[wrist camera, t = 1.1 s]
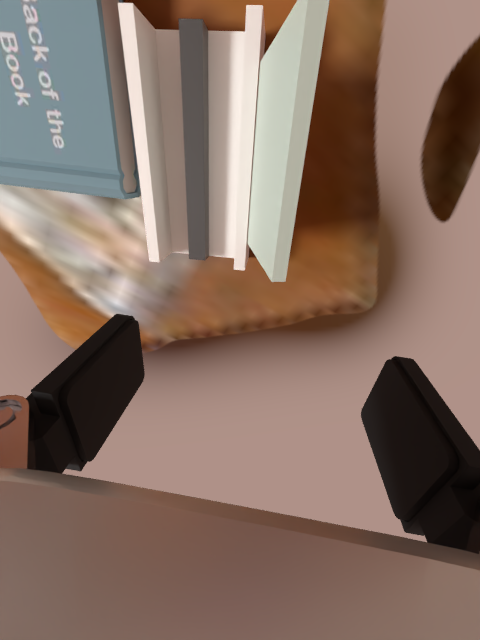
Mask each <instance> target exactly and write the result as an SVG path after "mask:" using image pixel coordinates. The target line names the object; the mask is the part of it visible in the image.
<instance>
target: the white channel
mask: <svg viewBox="0 0 480 640" xmlns="http://www.w3.org/2000/svg"><path fill="white" fill-rule="evenodd" d="M118 10H119V18H120V27H121V35H122V43H123V51H124V59H125V67H126V75H127V83H128V92H129V100H130V108H131V116H132V124H133V132H134V140H135V148H136V156H137V165H138V173H139V181H140V189H141V197H142V205H143V213H144V221H145V230H146V238H147V246H148V254H149V261H152V262H160V261H162V260H163V259H164V258H166V257H167V256H168V255H169V254H171V253H172V252H175V253H186V254H189V259H196V260H206V259H207V258H208V256H218V257H228V258H234V270H245V268H246V264H247V261H248V258H249V248H250V247H249V245H248V243H247V242H248V228H249V213H250V199H251V185H252V171H253V157H254V143H255V129H256V115H257V101H258V87H259V73H260V62H261V60H262V58H263V57H264V49H265V24H264V12H263V5H246V25H245V32H240V31H208V29H207V27H206V25H205V23H204V21H203V19H179V30H162V29H155V28H154V27H153V26H152V25H151V24H150V22H149V21H148V20H147V19H146V18H145V17H144V15H143V14H142V13H141V12H140V11H139V10H138V9H137V7H136V6H135V5H134V4H133V3H118Z"/></svg>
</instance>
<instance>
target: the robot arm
mask: <svg viewBox="0 0 480 640" xmlns="http://www.w3.org/2000/svg"><path fill="white" fill-rule="evenodd" d="M143 379H144V365H143V357H142V348H141V340H140V331H139V324H138V321H136V320H135V319H134V317H133V316H128V315H121V314H116V315H114V316H113V317H112V318H111V319H110V320H109V321H108V322H107V323H106V324H104V325H103V326H102V327H101V328H100V329H99V330H98V331H97V332H95V333H94V334H93V335H92V336H91V337H90V338H89V339H88V340H87V341H85V342H84V343H83V344H82V345H81V346H80V347H79V348H78V349H77V350H75V351H74V352H73V353H72V354H71V355H70V356H69V357H68V358H66V360H64V361H63V362H62V363H61V364H60V365H59V366H58V367H57V368H55V369H54V370H53V371H52V372H51V373H50V374H49V375H48V376H46V377H45V378H44V379H43V380H42V381H41V382H40V383H39V384H38V385H36V386H35V387H34V388H33V389H32V390H31V392H32V393H31V394H30V395H29V396H28V397H27V398H26V399H25V398H24V397H22V396H18V395H6V396H1V397H0V640H480V450H479V449H478V447H477V446H476V445H475V443H474V442H473V441H472V439H471V438H470V436H469V435H468V434H467V432H466V431H465V430H464V428H463V427H462V425H461V424H460V423H459V421H458V420H457V418H456V417H455V416H454V414H453V413H452V412H451V410H450V409H449V407H448V406H447V405H446V404H445V402H444V401H443V399H442V398H441V396H440V395H439V394H438V392H437V391H436V390H435V388H434V387H433V385H432V384H431V383H430V381H429V380H428V378H427V377H426V376H425V374H424V373H423V372H422V370H421V369H420V368H419V366H418V365H417V363H416V362H415V361H414V360H413V359H410V358H403V357H397V356H395V357H393V358H392V359H391V360H390V359H389V360H387V361H386V362H385V364H384V367H383V368H382V370H381V373H380V374H379V376H378V378H377V381H376V382H375V384H374V387H373V388H372V390H371V392H370V394H369V396H368V398H367V400H366V402H365V404H364V406H363V408H362V412H361V418H362V421H363V424H364V427H365V430H366V433H367V436H368V439H369V442H370V445H371V448H372V450H373V454H374V456H375V459H376V462H377V465H378V468H379V471H380V474H381V477H382V480H383V483H384V486H385V489H386V491H387V495H388V497H389V500H390V503H391V506H392V509H393V512H394V514H395V516H396V517H397V518H398V519H400V520H401V523H402V526H403V529H404V531H405V532H406V533H411V534H417V535H422V536H424V535H425V537H426V539H427V542H428V543H427V542H422V541H417V540H413V539H408V538H404V537H399V536H394V535H389V534H383V533H378V532H373V531H368V530H363V529H358V528H353V527H347V526H342V525H336V524H332V523H327V522H321V521H317V520H312V519H306V518H301V517H296V516H290V515H285V514H280V513H275V512H269V511H264V510H259V509H254V508H248V507H243V506H238V505H233V504H227V503H221V502H217V501H211V500H206V499H201V498H196V497H190V496H185V495H179V494H174V493H168V492H163V491H157V490H152V489H146V488H140V487H135V486H130V485H125V484H119V483H114V482H109V481H103V480H96V479H91V478H84V477H78V476H72V475H66V474H62V473H63V471H64V470H65V469H71V470H77V471H82V469H83V467H84V466H85V464H86V463H87V461H89V462H90V461H92V460H93V459H94V458H95V456H96V455H97V453H98V451H99V450H100V448H101V447H102V445H103V444H104V442H105V440H106V439H107V437H108V436H109V434H110V432H111V431H112V429H113V428H114V426H115V425H116V423H117V421H118V420H119V418H120V417H121V415H122V413H123V412H124V410H125V409H126V407H127V406H128V404H129V403H130V401H131V399H132V398H133V396H134V395H135V393H136V391H137V390H138V388H139V387H140V385H141V383H142V382H143Z"/></svg>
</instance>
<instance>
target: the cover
mask: <svg viewBox="0 0 480 640" xmlns="http://www.w3.org/2000/svg"><path fill="white" fill-rule="evenodd" d="M328 6H329V0H297V2H296V4H295V5H294V7H293V9H292V10H291V12H290V14H289V15H288V17H287V19H286V20H285V22H284V24H283V25H282V27H281V29H280V30H279V32H278V34H277V35H276V37H275V39H274V40H273V42H272V44H271V45H270V47H269V49H268V50H267V52H266V54H265V55H264V57H263V58H262V60H261V62H260V73H259V87H258V101H257V115H256V129H255V143H254V157H253V171H252V185H251V199H250V213H249V228H248V242H247V243H248V245H249V247H250V248H251V250H252V251H253V253H254V254H255V256H256V258H257V259H258V261H259V262H260V264H261V266H262V267H263V269H264V270H265V272H266V273H267V275H268V277H269V278H270V280H271V281H272V282H285V281H286V275H287V268H288V262H289V255H290V249H291V243H292V236H293V230H294V223H295V217H296V211H297V204H298V198H299V191H300V185H301V179H302V172H303V166H304V159H305V153H306V147H307V140H308V134H309V127H310V121H311V115H312V108H313V102H314V95H315V89H316V83H317V76H318V70H319V63H320V57H321V51H322V44H323V38H324V31H325V25H326V19H327V12H328Z"/></svg>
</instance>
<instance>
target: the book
mask: <svg viewBox="0 0 480 640" xmlns="http://www.w3.org/2000/svg"><path fill="white" fill-rule="evenodd" d="M118 3H123V0H0V184H4V185H13V186H21V187H29V188H37V189H46V190H54V191H62V192H70V193H79V194H87V195H95V196H103V197H112V198H120V199H130V198H135V197H139V196H140V193H141V191H140V181H139V173H138V165H137V156H136V148H135V140H134V132H133V124H132V116H131V108H130V100H129V92H128V83H127V75H126V67H125V59H124V51H123V43H122V35H121V27H120V18H119V10H118Z"/></svg>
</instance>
